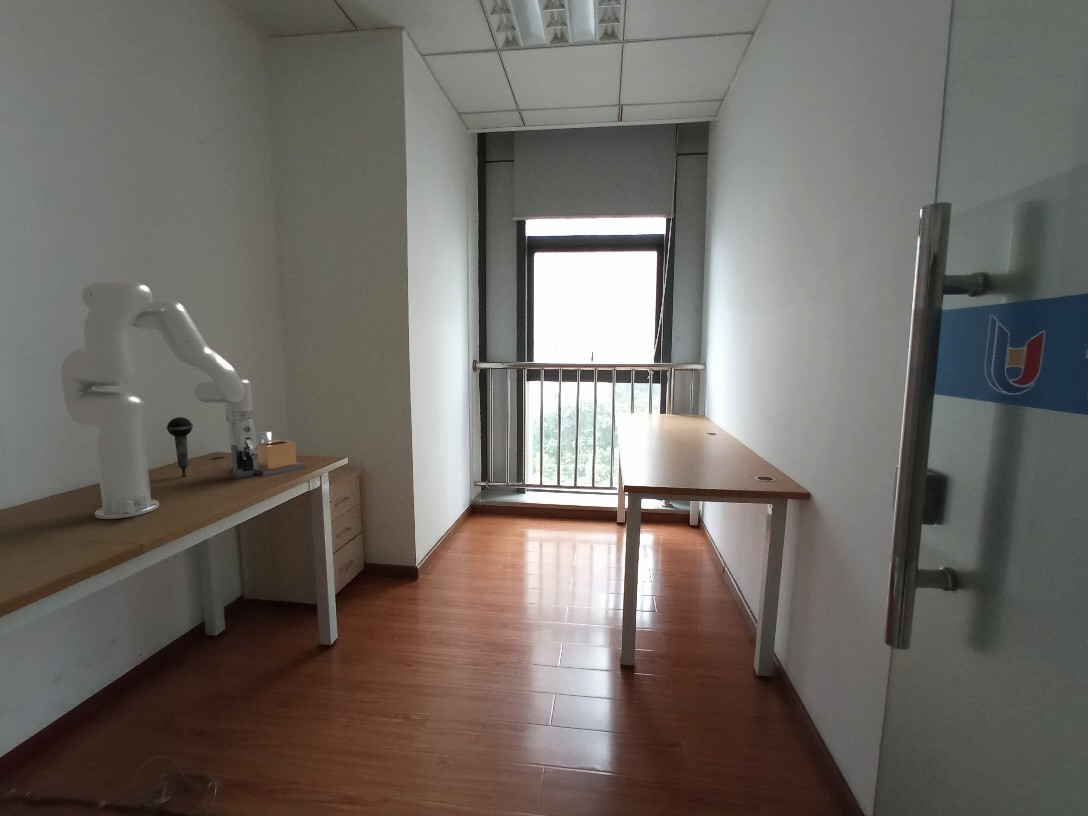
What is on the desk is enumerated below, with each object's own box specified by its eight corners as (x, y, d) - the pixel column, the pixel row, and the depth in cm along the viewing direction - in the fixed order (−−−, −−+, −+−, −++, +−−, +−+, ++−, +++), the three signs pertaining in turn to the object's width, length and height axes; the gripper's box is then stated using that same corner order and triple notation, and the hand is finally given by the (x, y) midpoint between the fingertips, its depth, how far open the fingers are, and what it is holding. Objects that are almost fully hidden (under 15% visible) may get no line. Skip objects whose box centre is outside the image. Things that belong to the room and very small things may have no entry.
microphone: (198, 472, 161) (193, 415, 158) (195, 477, 155) (190, 418, 153) (172, 475, 157) (167, 416, 155) (169, 480, 152) (163, 419, 149)
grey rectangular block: (253, 475, 159) (251, 443, 157) (237, 478, 154) (235, 446, 153) (249, 474, 160) (247, 442, 159) (233, 477, 156) (231, 444, 155)
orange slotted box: (304, 467, 169) (302, 433, 167) (263, 476, 158) (261, 439, 156) (277, 459, 181) (275, 427, 179) (237, 467, 169) (234, 433, 168)
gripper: (263, 417, 153) (267, 470, 155) (240, 412, 163) (244, 463, 165) (238, 420, 147) (242, 475, 149) (215, 415, 157) (219, 467, 159)
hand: (243, 468), depth 157 cm, fingers open, 6 cm apart
